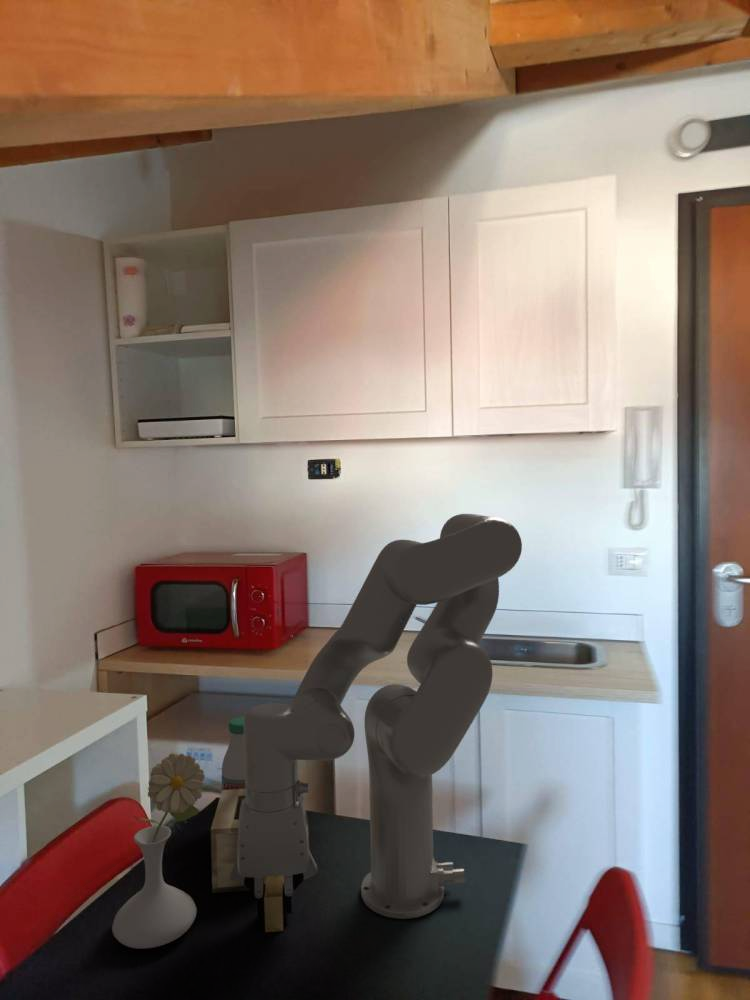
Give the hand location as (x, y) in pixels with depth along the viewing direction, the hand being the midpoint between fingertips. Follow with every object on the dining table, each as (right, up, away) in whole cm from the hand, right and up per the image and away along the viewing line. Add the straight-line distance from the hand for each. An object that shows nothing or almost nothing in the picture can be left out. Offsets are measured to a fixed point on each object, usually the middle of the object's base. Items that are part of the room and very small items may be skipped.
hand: (275, 917), depth 98 cm
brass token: (0, 0, 0) cm, 0 cm away
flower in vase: (-16, -1, -1) cm, 16 cm away
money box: (-6, 0, +13) cm, 15 cm away
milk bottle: (-9, 0, +25) cm, 27 cm away
